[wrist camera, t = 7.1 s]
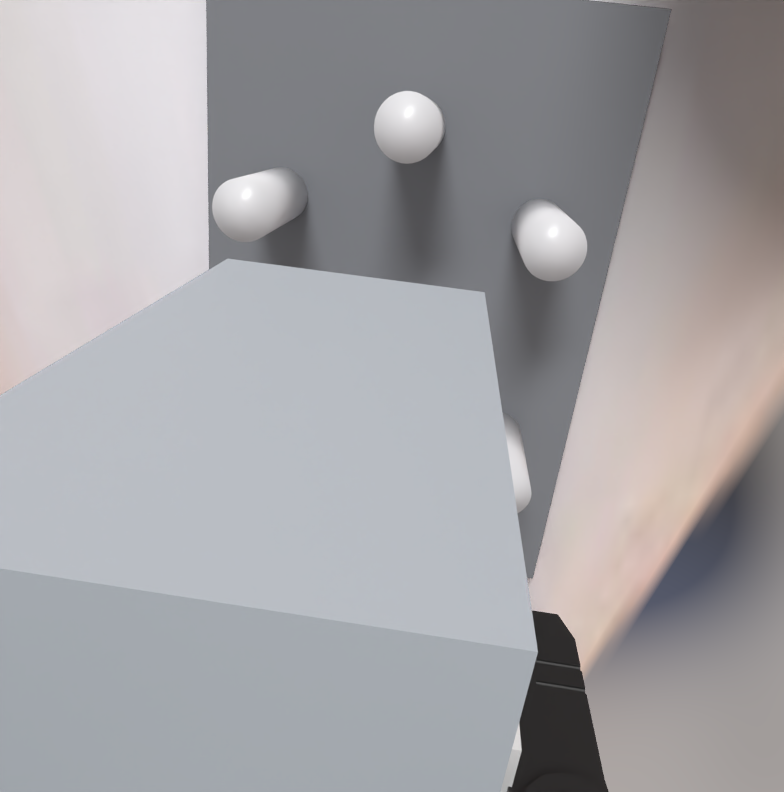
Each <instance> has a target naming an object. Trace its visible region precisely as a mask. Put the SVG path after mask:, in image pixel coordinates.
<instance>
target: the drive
mask: <svg viewBox="0 0 784 792" xmlns="http://www.w3.org/2000/svg"><path fill="white" fill-rule="evenodd" d="M537 654H538V649H537V642H536V635H535V628H534V622H533V615H532V608H531V602H530V595H529V588H528V581H527V575H526V568H525V561H524V554H523V548H522V541H521V534H520V527H519V521H518V514H517V507H516V500H515V494H514V487H513V480H512V473H511V467H510V460H509V453H508V446H507V440H506V433H505V426H504V419H503V413H502V406H501V399H500V393H499V386H498V379H497V372H496V366H495V359H494V352H493V345H492V339H491V332H490V325H489V318H488V312H487V305H486V298H485V292H479V291H472V290H464V289H456V288H449V287H441V286H433V285H426V284H418V283H410V282H403V281H395V280H388V279H380V278H372V277H365V276H357V275H349V274H342V273H334V272H327V271H319V270H311V269H304V268H296V267H288V266H281V265H273V264H265V263H258V262H250V261H243V260H235V259H226V260H224V261H223V262H221V263H219V264H218V265H216V266H214V267H213V268H211V269H209V270H208V271H206V272H204V273H203V274H201V275H199V276H198V277H196V278H194V279H193V280H191V281H189V282H188V283H186V284H184V285H183V286H181V287H179V288H178V289H176V290H174V291H173V292H171V293H169V294H168V295H166V296H164V297H163V298H161V299H159V300H158V301H156V302H154V303H153V304H151V305H149V306H148V307H146V308H144V309H143V310H141V311H139V312H138V313H136V314H134V315H133V316H131V317H129V318H128V319H126V320H124V321H123V322H121V323H120V324H118V325H116V326H115V327H113V328H111V329H110V330H108V331H106V332H105V333H103V334H101V335H100V336H98V337H96V338H95V339H93V340H91V341H90V342H88V343H86V344H85V345H83V346H81V347H80V348H78V349H76V350H75V351H73V352H71V353H70V354H68V355H66V356H65V357H63V358H61V359H60V360H58V361H56V362H55V363H53V364H51V365H50V366H48V367H46V368H45V369H43V370H41V371H40V372H38V373H36V374H35V375H33V376H31V377H30V378H28V379H26V380H25V381H23V382H21V383H20V384H18V385H16V386H15V387H13V388H11V389H10V390H8V391H6V392H5V393H3V394H1V395H0V792H500V791H501V788H502V784H503V780H504V777H505V773H506V769H507V765H508V762H509V758H510V754H511V751H512V747H513V743H514V739H515V736H516V732H517V728H518V724H519V721H520V717H521V713H522V710H523V706H524V702H525V698H526V695H527V691H528V687H529V684H530V680H531V676H532V672H533V669H534V665H535V661H536V657H537Z"/></svg>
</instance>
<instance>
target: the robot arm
mask: <svg viewBox="0 0 784 792" xmlns="http://www.w3.org/2000/svg"><path fill="white" fill-rule="evenodd" d="M532 615H533V622H534V628H535V635H536V642H537V649H538V654H537V657H536V661H535V665H534V669H533V672H532V676H531V680H530V684H529V687H528V691H527V695H526V698H525V702H524V706H523V710H522V713H521V717H520V721H519V724H518V728H517V732H516V736H515V739H514V743H513V747H512V751H511V754H510V758H509V762H508V765H507V769H506V773H505V777H504V780H503V784H502V788H501V791H500V792H608V789H607V786H606V783H605V780H604V775H603V771H602V766H601V761H600V756H599V751H598V747H597V742H596V737H595V733H594V728H593V724H592V719H591V714H590V709H589V704H588V700H587V695H586V694H585V686H584V680H583V676H582V671H580V661H579V657H578V652H577V647H576V643H575V639H574V637H573V636H572V634H571V633H570V632H569V630H568V629H567V627H566V626H565V624H564V623H563V621H562V620H561V619H560V617H559V616H558V615H557V614H551V613H544V612H538V611H532Z"/></svg>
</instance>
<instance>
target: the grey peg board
mask: <svg viewBox="0 0 784 792" xmlns="http://www.w3.org/2000/svg"><path fill="white" fill-rule="evenodd" d="M206 12H207V107H208V202H209V269H211V268H213V267H214V266H216V265H218V264H219V263H221V262H223V261H224V260H226V259H235V260H243V261H250V262H258V263H265V264H273V265H281V266H288V267H296V268H304V269H311V270H319V271H327V272H334V273H342V274H349V275H357V276H365V277H372V278H380V279H388V280H395V281H403V282H410V283H418V284H426V285H433V286H441V287H449V288H456V289H464V290H472V291H479V292H485V298H486V305H487V312H488V318H489V325H490V332H491V339H492V345H493V352H494V359H495V366H496V372H497V379H498V386H499V393H500V399H501V406H502V413H503V419H504V426H505V433H506V440H507V446H508V453H509V460H510V467H511V473H512V480H513V487H514V494H515V500H516V507H517V514H518V521H519V527H520V534H521V541H522V548H523V554H524V561H525V568H526V575H527V578H533V575H534V571H535V566H536V562H537V558H538V554H539V550H540V546H541V542H542V538H543V534H544V530H545V525H546V521H547V517H548V513H549V509H550V505H551V501H552V497H553V493H554V489H555V484H556V480H557V476H558V472H559V468H560V464H561V460H562V456H563V452H564V448H565V443H566V439H567V435H568V431H569V427H570V423H571V419H572V415H573V411H574V407H575V403H576V398H577V394H578V390H579V386H580V382H581V378H582V374H583V370H584V366H585V362H586V357H587V353H588V349H589V345H590V341H591V337H592V333H593V329H594V325H595V321H596V316H597V312H598V308H599V304H600V300H601V296H602V292H603V288H604V284H605V280H606V275H607V271H608V267H609V263H610V259H611V255H612V251H613V247H614V243H615V239H616V234H617V230H618V226H619V222H620V218H621V214H622V210H623V206H624V202H625V198H626V193H627V189H628V185H629V181H630V177H631V173H632V169H633V165H634V161H635V157H636V152H637V148H638V144H639V140H640V136H641V132H642V128H643V124H644V120H645V116H646V111H647V107H648V103H649V99H650V95H651V91H652V87H653V83H654V79H655V75H656V71H657V66H658V62H659V58H660V54H661V50H662V46H663V42H664V38H665V34H666V30H667V25H668V21H669V17H670V13H671V9H666V8H656V7H647V6H637V5H627V4H618V3H608V2H599V1H589V0H206Z"/></svg>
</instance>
